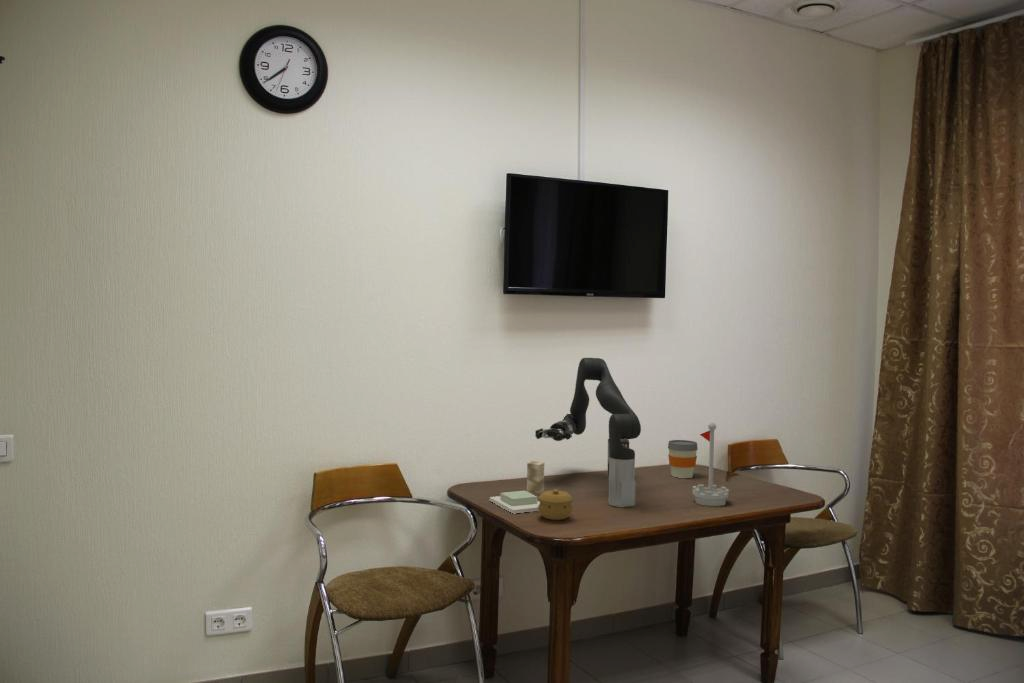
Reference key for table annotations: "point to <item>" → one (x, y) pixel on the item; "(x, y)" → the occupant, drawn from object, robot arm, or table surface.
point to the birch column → (535, 477)
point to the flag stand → (710, 479)
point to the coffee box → (625, 443)
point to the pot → (555, 504)
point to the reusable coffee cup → (682, 457)
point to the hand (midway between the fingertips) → (547, 437)
